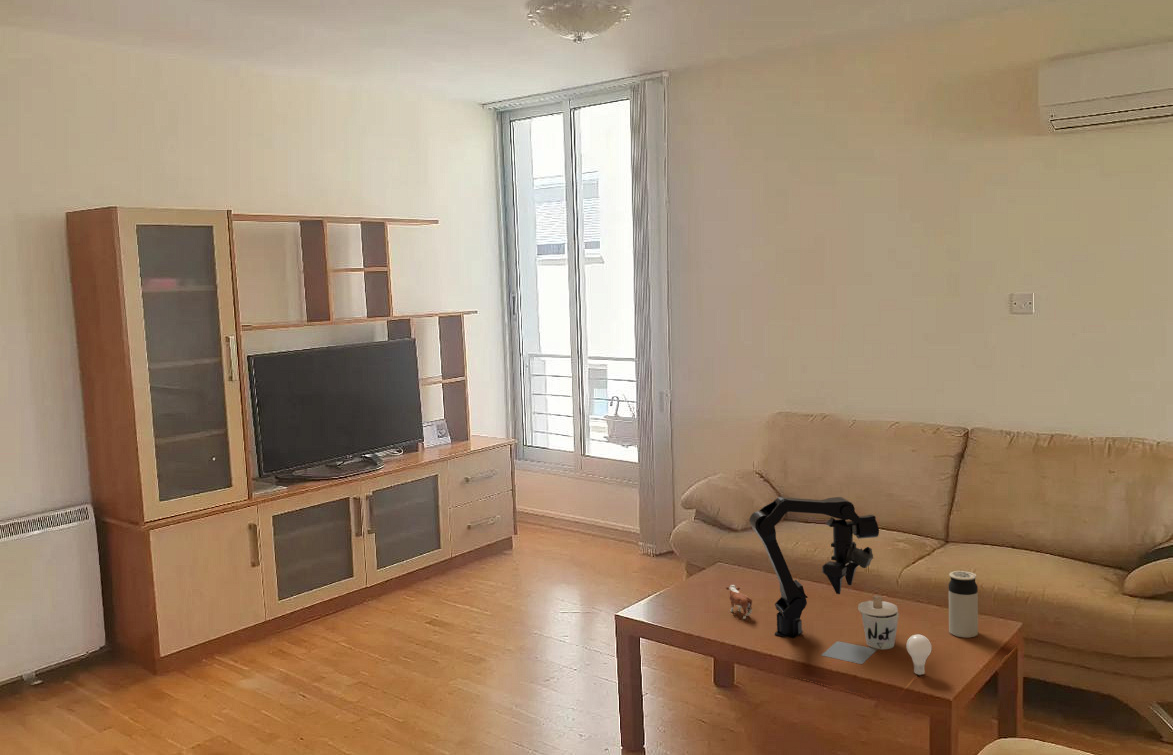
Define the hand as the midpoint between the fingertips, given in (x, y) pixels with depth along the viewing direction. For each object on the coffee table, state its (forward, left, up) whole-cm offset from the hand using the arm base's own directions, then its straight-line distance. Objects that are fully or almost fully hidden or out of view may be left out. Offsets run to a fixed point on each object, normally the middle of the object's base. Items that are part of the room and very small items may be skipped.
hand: (844, 589), depth 280 cm
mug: (+13, -5, -13) cm, 18 cm away
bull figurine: (-34, -4, -13) cm, 37 cm away
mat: (+8, -17, -12) cm, 23 cm away
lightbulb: (+29, -21, -13) cm, 38 cm away
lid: (+12, -5, -3) cm, 13 cm away
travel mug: (+31, +14, -13) cm, 36 cm away
